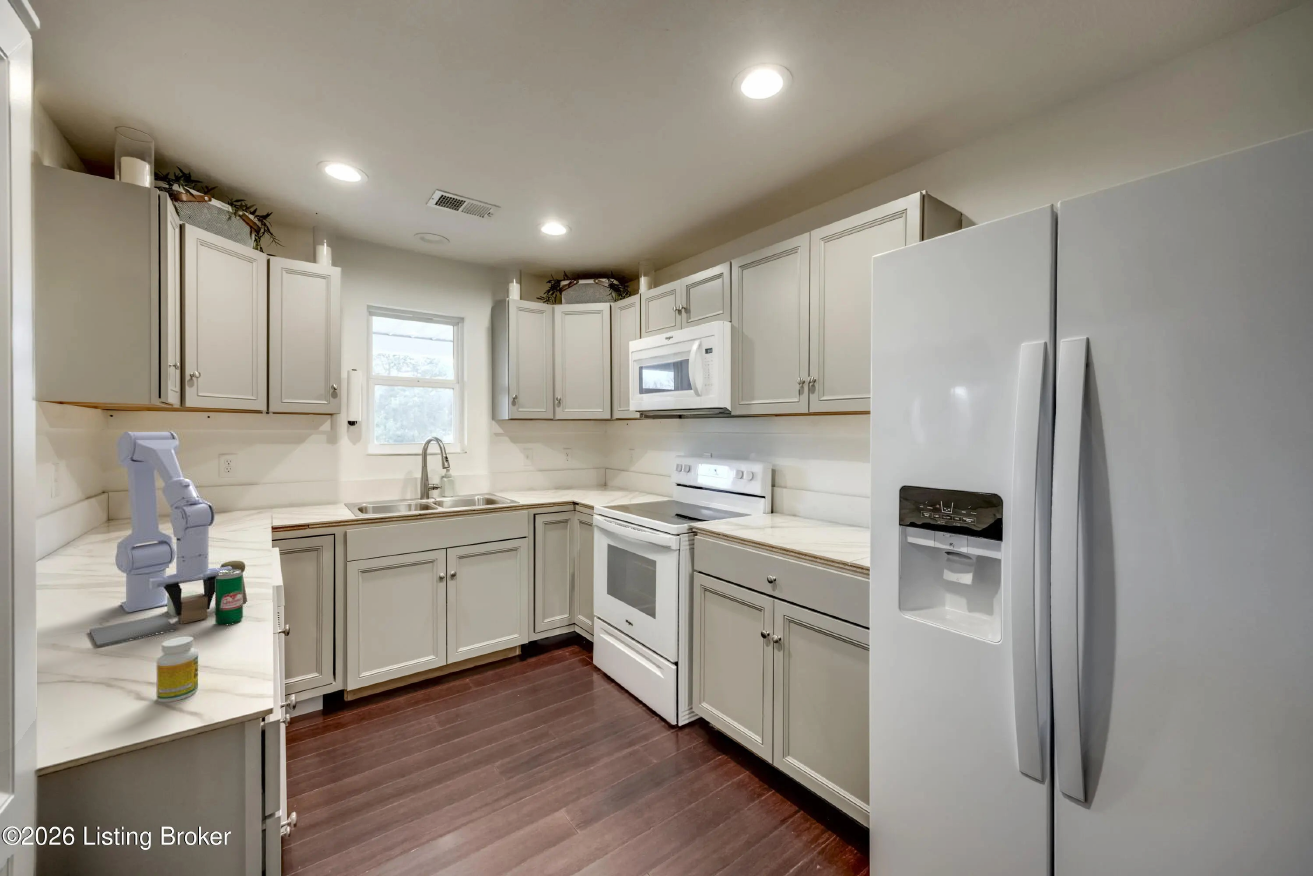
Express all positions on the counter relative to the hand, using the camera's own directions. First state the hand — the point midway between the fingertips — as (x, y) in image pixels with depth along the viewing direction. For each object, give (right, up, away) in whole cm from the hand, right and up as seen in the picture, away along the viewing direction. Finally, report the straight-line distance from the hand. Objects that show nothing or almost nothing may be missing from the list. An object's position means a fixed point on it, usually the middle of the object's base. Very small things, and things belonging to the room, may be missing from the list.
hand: (192, 611), depth 124 cm
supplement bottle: (+27, -4, -33) cm, 42 cm away
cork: (+1, -2, +11) cm, 11 cm away
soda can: (+9, -2, -1) cm, 10 cm away
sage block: (-7, -2, +5) cm, 9 cm away
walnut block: (0, -2, 0) cm, 2 cm away
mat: (-7, -2, -7) cm, 10 cm away
